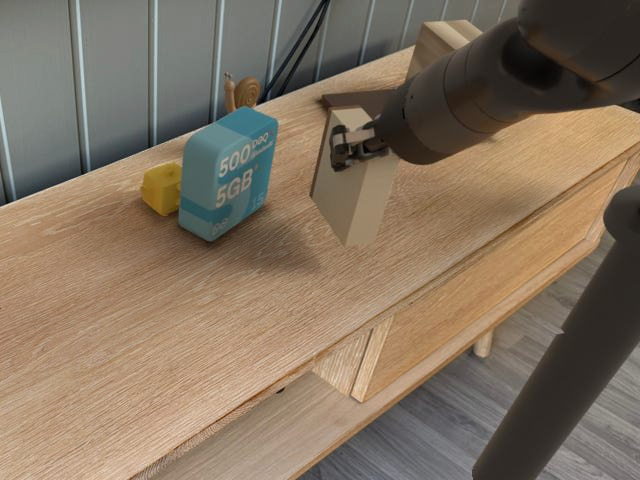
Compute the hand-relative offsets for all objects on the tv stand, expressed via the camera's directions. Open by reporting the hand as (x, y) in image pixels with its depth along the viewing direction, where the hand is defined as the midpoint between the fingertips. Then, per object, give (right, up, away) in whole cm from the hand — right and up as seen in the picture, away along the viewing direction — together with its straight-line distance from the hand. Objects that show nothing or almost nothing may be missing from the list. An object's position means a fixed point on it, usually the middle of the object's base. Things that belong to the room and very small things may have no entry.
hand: (353, 160), depth 75 cm
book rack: (+15, +15, +30) cm, 37 cm away
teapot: (-20, -3, +12) cm, 23 cm away
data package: (-13, -4, +11) cm, 18 cm away
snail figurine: (-11, +7, +22) cm, 25 cm away
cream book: (0, -5, +5) cm, 7 cm away
